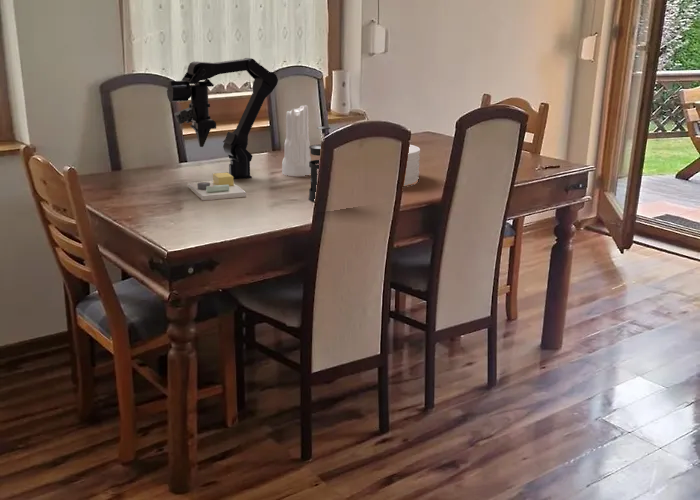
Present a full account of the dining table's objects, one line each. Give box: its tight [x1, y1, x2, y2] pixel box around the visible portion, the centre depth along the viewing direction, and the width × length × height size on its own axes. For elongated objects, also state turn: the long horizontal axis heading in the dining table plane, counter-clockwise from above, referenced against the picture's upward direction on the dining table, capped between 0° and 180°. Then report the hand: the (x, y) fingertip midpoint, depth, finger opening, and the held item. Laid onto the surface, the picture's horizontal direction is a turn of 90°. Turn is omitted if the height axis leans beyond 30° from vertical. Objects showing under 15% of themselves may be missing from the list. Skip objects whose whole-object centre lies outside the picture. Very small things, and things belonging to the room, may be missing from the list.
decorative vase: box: [281, 104, 312, 177], centre depth 281 cm, size 11×11×25 cm
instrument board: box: [187, 171, 247, 201], centre depth 254 cm, size 14×20×4 cm
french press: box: [308, 125, 331, 203], centre depth 243 cm, size 12×9×23 cm
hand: (201, 146), depth 266 cm, fingers closed
